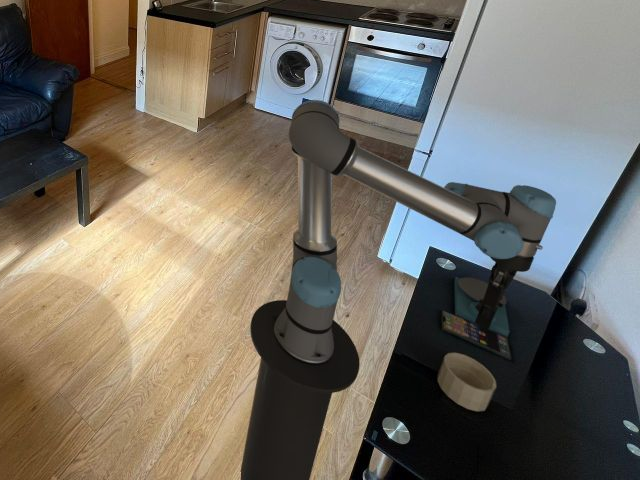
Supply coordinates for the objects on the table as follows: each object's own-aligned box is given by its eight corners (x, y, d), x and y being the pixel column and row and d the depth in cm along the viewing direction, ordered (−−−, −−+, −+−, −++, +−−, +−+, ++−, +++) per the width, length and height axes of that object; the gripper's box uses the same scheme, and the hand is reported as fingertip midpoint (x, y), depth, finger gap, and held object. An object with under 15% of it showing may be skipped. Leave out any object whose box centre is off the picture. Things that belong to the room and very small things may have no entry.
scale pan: (458, 294, 125) (459, 293, 125) (458, 273, 134) (458, 272, 134) (508, 313, 119) (508, 312, 119) (504, 290, 128) (504, 289, 127)
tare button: (490, 316, 118) (491, 312, 117) (476, 311, 119) (478, 307, 119) (489, 310, 120) (490, 306, 120) (476, 305, 122) (477, 301, 121)
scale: (507, 337, 115) (511, 327, 114) (454, 315, 122) (458, 306, 121) (501, 298, 129) (504, 290, 128) (454, 281, 136) (457, 272, 134)
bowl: (436, 395, 98) (444, 373, 96) (437, 365, 106) (444, 345, 104) (488, 422, 93) (498, 400, 91) (485, 389, 100) (494, 368, 98)
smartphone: (510, 360, 108) (512, 356, 108) (441, 330, 116) (442, 327, 116) (506, 339, 114) (507, 336, 114) (441, 312, 123) (442, 309, 122)
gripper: (527, 268, 89) (493, 348, 97) (540, 247, 97) (508, 322, 104) (485, 249, 95) (455, 326, 102) (500, 230, 102) (472, 303, 110)
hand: (482, 324), depth 103 cm, fingers closed
